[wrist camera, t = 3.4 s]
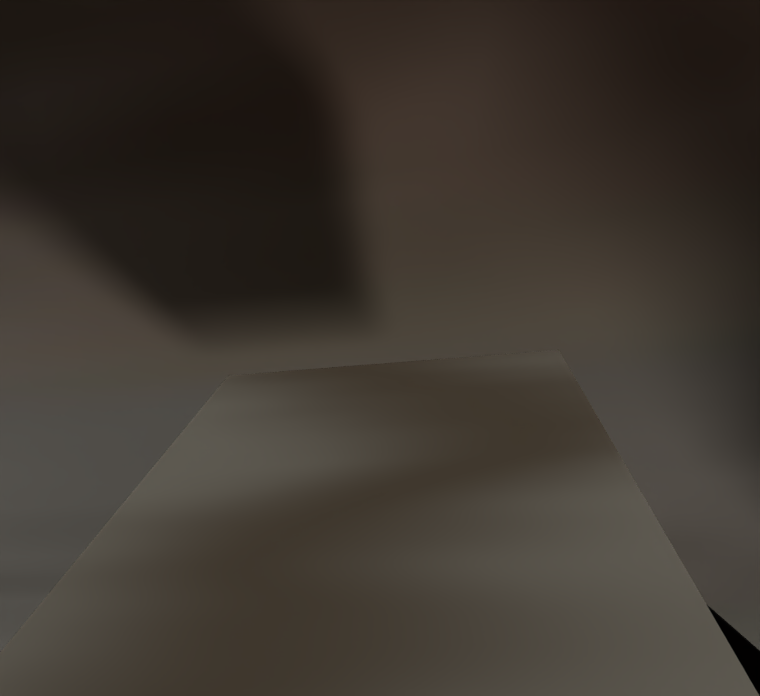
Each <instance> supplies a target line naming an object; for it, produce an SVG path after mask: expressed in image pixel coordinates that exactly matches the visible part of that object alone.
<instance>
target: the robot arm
mask: <svg viewBox="0 0 760 696" xmlns="http://www.w3.org/2000/svg"><path fill="white" fill-rule="evenodd" d="M706 605H707V604H706ZM707 606H708V605H707ZM708 608H709V610H710V612H711V613H712V615H713V617H714V619H715V620H716V622H717V624H718V625H719V627H720V629H721V631H722V632H723V634H724V636H725V637H726V639H727V641H728V643H729V644H730V646H731V648H732V650H733V651H734V653H735V655H736V656H737V658H738V660H739V662H740V663H741V665H742V667H743V668H744V670H745V672H746V674H747V675H748V677H749V679H750V681H751V682H752V684H753V686H754V687H755V689H756V691H757V693H758V694H759V696H760V651H759V650H758V649H757V648H756V647H755V646H754V645H752V644H751V643H750V642H749V641H748V640H747V639H746V638H744V637H743V636H742V635H741V634H740V633H739V632H738V631H736V630H735V629H734V628H733V627H732V626H731V625H730V624H728V623H727V622H726V621H725V620H724V619H723V618H722V617H720V616H719V615H718V614H717V613H716V612H715V611H714V610H712V609H711V608H710V607H709V606H708Z"/></svg>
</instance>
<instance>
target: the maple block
mask: <svg viewBox="0 0 760 696" xmlns="http://www.w3.org/2000/svg"><path fill="white" fill-rule="evenodd" d="M0 696H759V694H758V693H757V691H756V689H755V687H754V686H753V684H752V682H751V681H750V679H749V677H748V675H747V674H746V672H745V670H744V668H743V667H742V665H741V663H740V662H739V660H738V658H737V656H736V655H735V653H734V651H733V650H732V648H731V646H730V644H729V643H728V641H727V639H726V637H725V636H724V634H723V632H722V631H721V629H720V627H719V625H718V624H717V622H716V620H715V619H714V617H713V615H712V613H711V612H710V610H709V608H708V606H707V605H706V603H705V601H704V600H703V598H702V596H701V594H700V593H699V591H698V589H697V588H696V586H695V584H694V582H693V581H692V579H691V577H690V575H689V574H688V572H687V570H686V569H685V567H684V565H683V563H682V562H681V560H680V558H679V557H678V555H677V553H676V551H675V550H674V548H673V546H672V544H671V543H670V541H669V539H668V538H667V536H666V534H665V532H664V531H663V529H662V527H661V526H660V524H659V522H658V520H657V519H656V517H655V515H654V513H653V512H652V510H651V508H650V507H649V505H648V503H647V501H646V500H645V498H644V496H643V495H642V493H641V491H640V489H639V488H638V486H637V484H636V482H635V481H634V479H633V477H632V476H631V474H630V472H629V470H628V469H627V467H626V465H625V463H624V462H623V460H622V458H621V457H620V455H619V453H618V451H617V450H616V448H615V446H614V445H613V443H612V441H611V439H610V438H609V436H608V434H607V432H606V431H605V429H604V427H603V426H602V424H601V422H600V420H599V419H598V417H597V415H596V414H595V412H594V410H593V408H592V407H591V405H590V403H589V401H588V400H587V398H586V396H585V395H584V393H583V391H582V389H581V388H580V386H579V384H578V383H577V381H576V379H575V377H574V376H573V374H572V372H571V370H570V369H569V367H568V365H567V364H566V362H565V360H564V358H563V357H562V355H561V353H560V352H559V350H549V351H536V352H523V353H511V354H498V355H485V356H472V357H459V358H447V359H434V360H421V361H408V362H396V363H383V364H370V365H357V366H344V367H332V368H319V369H306V370H293V371H280V372H268V373H255V374H242V375H229V376H227V378H226V379H225V380H224V381H223V383H222V384H221V385H220V386H219V387H218V389H217V390H216V391H215V392H214V393H213V395H212V396H211V397H210V398H209V400H208V401H207V402H206V403H205V404H204V406H203V407H202V408H201V409H200V410H199V412H198V413H197V414H196V415H195V417H194V418H193V419H192V420H191V421H190V423H189V424H188V425H187V426H186V427H185V429H184V430H183V431H182V432H181V434H180V435H179V436H178V437H177V438H176V440H175V441H174V442H173V443H172V444H171V446H170V447H169V448H168V449H167V451H166V452H165V453H164V454H163V455H162V457H161V458H160V459H159V460H158V461H157V463H156V464H155V465H154V466H153V468H152V469H151V470H150V471H149V472H148V474H147V475H146V476H145V477H144V478H143V480H142V481H141V482H140V483H139V485H138V486H137V487H136V488H135V489H134V491H133V492H132V493H131V494H130V495H129V497H128V498H127V499H126V500H125V502H124V503H123V504H122V505H121V506H120V508H119V509H118V510H117V511H116V512H115V514H114V515H113V516H112V517H111V519H110V520H109V521H108V522H107V523H106V525H105V526H104V527H103V528H102V529H101V531H100V532H99V533H98V534H97V536H96V537H95V538H94V539H93V540H92V542H91V543H90V544H89V545H88V546H87V548H86V549H85V550H84V551H83V553H82V554H81V555H80V556H79V557H78V559H77V560H76V561H75V562H74V563H73V565H72V566H71V567H70V568H69V570H68V571H67V572H66V573H65V574H64V576H63V577H62V578H61V579H60V580H59V582H58V583H57V584H56V585H55V587H54V588H53V589H52V590H51V591H50V593H49V594H48V595H47V596H46V597H45V599H44V600H43V601H42V602H41V604H40V605H39V606H38V607H37V608H36V610H35V611H34V612H33V613H32V615H31V616H30V617H29V618H28V619H27V621H26V622H25V623H24V624H23V625H22V627H21V628H20V629H19V630H18V632H17V633H16V634H15V635H14V636H13V638H12V639H11V640H10V641H9V642H8V644H7V645H6V646H5V647H4V649H3V650H2V651H1V652H0Z"/></svg>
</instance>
